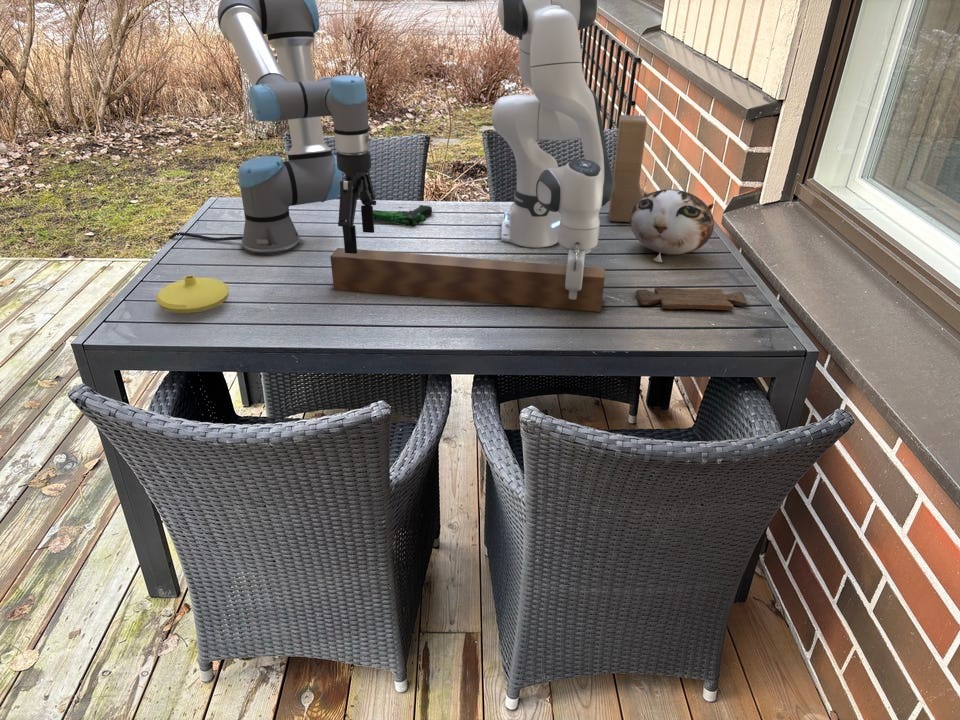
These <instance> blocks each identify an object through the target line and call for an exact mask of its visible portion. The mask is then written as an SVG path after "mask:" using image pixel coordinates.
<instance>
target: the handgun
mask: <svg viewBox="0 0 960 720" xmlns="http://www.w3.org/2000/svg"><path fill="white" fill-rule="evenodd" d="M432 213H433V208H432V206H430V205H423V204H419V206H418V207H416V208H414V209H413V210H409V211H403V210H402V211H400V210H399V211H395V212H393V211H386V210H385V211H384V210H383V211H382V210H378V209H377V210H376V209H373V218H374V222H383V223H391V224H398V225H402V226H406V227H416V226H418V225H420V223H423V222H426V220H427V218H426V217H429V216H432Z"/></svg>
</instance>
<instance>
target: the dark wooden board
mask: <svg viewBox="0 0 960 720" xmlns="http://www.w3.org/2000/svg"><path fill="white" fill-rule="evenodd" d="M653 291H654V292H653ZM653 291H651V290H648V289H645V288H644V289H636V290H635V294H636V299H637V301H638V303H639V306H652V305H657V304H660V305H661V308H662V310H663V309H664V310H679V309H680V310H683V309H684V310H685V309H686V310H687V309H688V310H689V309H691V310H692V309H693V310H714V311H715V310H717V311H731V310H733V309H734V306H737V307H743V308H745V307H747V304H748V303H747V299H746V297H745V294H744V293H743V292H741V291H735V292H732V293H731V292H730V293H726V294H723V293H724V292H723V289H722V288H720V289H719V288H675V287H674V288H673V287H672V288H671V287H654V289H653Z"/></svg>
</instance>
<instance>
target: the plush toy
mask: <svg viewBox="0 0 960 720" xmlns="http://www.w3.org/2000/svg"><path fill="white" fill-rule="evenodd" d="M649 193H650V194H648V195H647V194H644V197H643V198H641V199H640V200H639V201H638V202H637V203H636V205H635V206H634V208H633V210H632V212H631V216H630V222H629V223H630V228H631V231H632V233H633V235H634V236H635V238H636V239H637V240H638V242H639V243H641V245H643V246H644V247H646V248H648V249H649V250H651V251H654V252H656V253H658V254H657V256H656V257H654V258H653V259H652V261H654V262H658V263H663V260H662V256H661V254H663V255H668V256H669V255H670V256H671V255H672V256H680V255H685V254H690V253H693V252H695V251H697V250H698V249H700V248H702V247H703V246H704V245H706V244H707V243H708V241H709V240H710V238H711V237H712V234H713V232H714V229H715V220H714V216H713V213H712V211H711V210H712V209H713V207H714V206H715V205H714V203H711V204H709V205H707V204H706V203H705V202H704V201H703V200H702V199H701V198H699V197H698V196H696V195H694V194H692V193H691V192H687V191H684V190H680V189H674V188H673V189H671V188H669V189H668V188H667V189H659V190H656V191H652V192H649Z"/></svg>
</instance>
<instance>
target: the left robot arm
mask: <svg viewBox="0 0 960 720" xmlns="http://www.w3.org/2000/svg"><path fill="white" fill-rule="evenodd" d="M216 17H217V23H218V26H219V30H220V32H221V33H222V36H223V37H224V39H225V40H227V41H228V42H229V43H231V44H232V48H233V49H234V51H235V53H236V55H237V57H238V59H239V61H240V63H241V66H242V68H243V70H244V72H245V74H246V76H247V79H248V81H249V83H250V84H251V86H250V87H249V88H248V101H249V107H250V109H251V113H252V116H253V118H254V119H255V120H256V121H258V122H272V123H273V122H274V123H275V122H279V121H287V124H288V130H289V135H290V141H291V142H290V143H291V148H290V149H289V150H288V152H287V159H288V160H285V161H284V160H283V158H282V157H281V156H279V155H263V156H258V157H254V158H251V159H248V160H246V161H245V162H243V163H241V165H240V166H239V167H238V170H237V174H238V186H239V190H240V194H241V195H240V196H241V201H242V207H243V212H244V213H243V215H244V219H245V220H244V226H243V228H244V229H243V235H240V236H226V237H225V236H224V237H213V236H206V235H202V234H196V233H190V232H183V231H177V232H174V233H172V234H171V235H170V236H168V238H167V239H168V240H172V239H174V238H175V237H180V236H182V237H189V238H196V239H201V240H205V241H211V242H224V241H238V240H239V241H240V240H241V246H242V249H243V251H244V252H246V253H248V254H252V255H255V256H256V255H257V256H275V255H281V254H282V255H283V254H285V253H289V252H291V251H293V250H296V249H297V248H298V247H299V246H300V244H301V241H300V235H299V233H298V231H297V229H296V227H295V225H294V223H293V220H292V218H291V216H290V207H292V206H293V207H294V206H298V205H299V206H300V205H306V204H313V203H324V202H327V201H333V200H336V199H337V198H338V197H339V207H338V222H337V226H338V227H341V228H342V235H343V246H344V247H343V248H345V253H352V254H357V249H358V244H357V230H356V229H357V228H356V225H355V224H354V223H355V216H356V209H357V204H358V203H357V202H358V200H360V202H361V204H362V205H361V206H360V212H361V229H362V233H369V234H370V233H371V234H374V233H375V221H374V218H373V210H374V206H376V205H377V200H376V195H375V191H374V186H373V181H372V178H371V172H370V170H371V169H372V157H371V156H372V155H371V152H370V151H369V150H371V149H370V148H371V143H370V142H372V136H370V128H369V127H370V126H369V110H368V109H369V107H368V92H367V85H366V81H365V79H364V78H363V77H362V76H359V75H354V74H353V75H352V74H344V75H343V74H342V75H337V76H336V75H335V76H333V77H331V76H324V77H321V78H319V79H318V80H316V78H315V73H314V67H313V66H314V65H313V59H312V54H311V46H312V44H313V43H314V41H315V34H316V33H317V32H318V31H319V30H320V26H321V25H320V24H321V23H320V14H319V7H318V5H317V2H316V0H220V2H219V4H218V8H217V16H216ZM265 35H266V36H267V39H266V37H265ZM270 46H272V47H273V48H274V49H275V54H276V56H275V54H274V53H273V51H272V49H271V47H270ZM322 117H332V123H333V136H334V150H335V151H336V154H335V155H334V154H333V150H332V148H331V147H330V146H328V145H327V144H326V143H325V137H324V130H323V124H322ZM343 173H344V174H345V176H344V180H343ZM178 232H179V233H178ZM179 234H180V235H179ZM176 235H177V236H176Z"/></svg>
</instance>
